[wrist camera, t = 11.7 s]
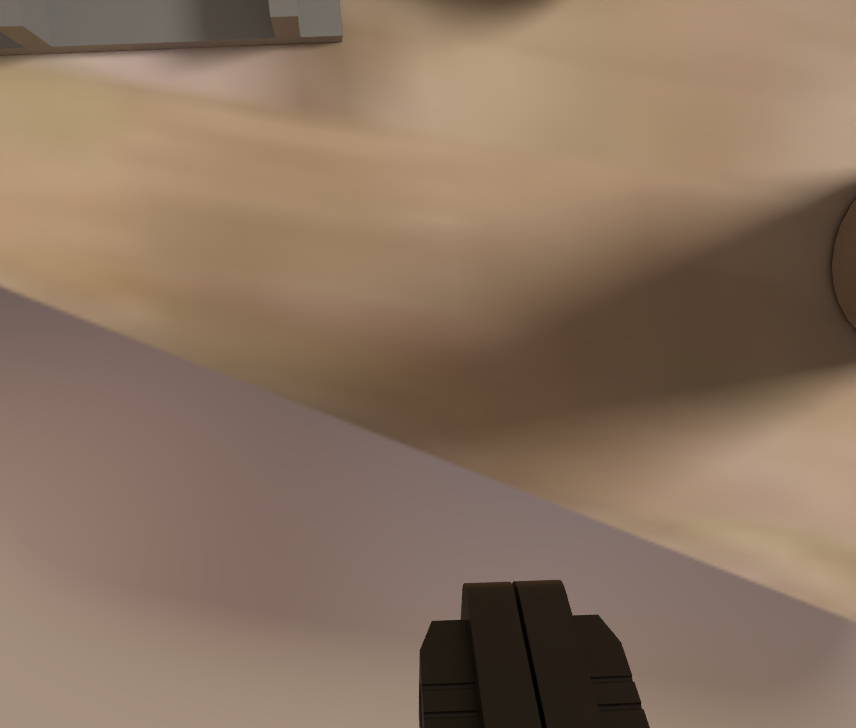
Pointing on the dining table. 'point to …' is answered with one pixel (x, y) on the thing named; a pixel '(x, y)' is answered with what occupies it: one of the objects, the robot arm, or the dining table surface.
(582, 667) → the robot arm
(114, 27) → the bay
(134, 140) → the dining table surface
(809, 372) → the dining table surface
